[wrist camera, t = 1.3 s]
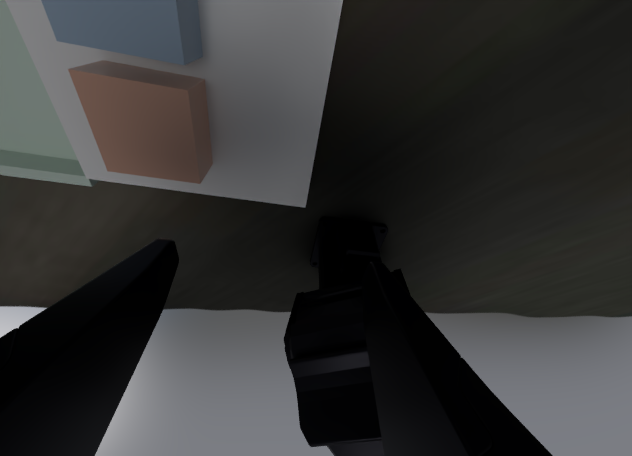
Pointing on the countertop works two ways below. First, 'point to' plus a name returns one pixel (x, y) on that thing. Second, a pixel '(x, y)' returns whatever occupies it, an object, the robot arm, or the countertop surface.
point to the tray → (30, 117)
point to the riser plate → (219, 92)
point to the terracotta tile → (146, 120)
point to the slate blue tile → (130, 27)
